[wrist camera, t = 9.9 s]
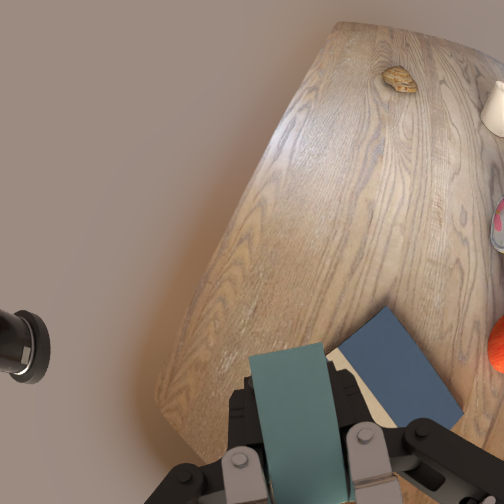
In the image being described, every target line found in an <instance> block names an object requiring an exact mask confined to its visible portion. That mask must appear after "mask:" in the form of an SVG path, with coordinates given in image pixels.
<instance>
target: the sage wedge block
mask: <svg viewBox="0 0 504 504" xmlns="http://www.w3.org/2000/svg"><path fill="white" fill-rule="evenodd" d="M249 363H250V369H251V374H252V375H251V376H250V377H249V380H248V383H249V386H250V387H251V388H252V389H254V392H255V398H256V403H257V409H258V414H259V420H260V425H261V431H262V436H263V442H264V447H265V452H266V458H267V463H268V468H269V473H270V478H271V484H272V489H273V494H274V499H275V504H339V503H343V502H347V501H348V500H349V497H348V489H347V481H346V474H345V467H344V460H343V453H342V447H341V440H340V434H339V428H338V422H337V416H336V411H335V405H334V400H333V394H332V389H331V384H330V379H329V373H328V368H327V363H326V358H325V354H324V349H323V344H322V342H319V343H315V344H310V345H306V346H301V347H296V348H292V349H287V350H282V351H276V352H271V353H266V354H260V355H254V356H250V357H249Z"/></svg>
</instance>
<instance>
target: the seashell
mask: <svg viewBox="0 0 504 504" xmlns="http://www.w3.org/2000/svg"><path fill="white" fill-rule="evenodd" d="M382 77H384V80H385V82H386V83H389V84H391V85H392V86H393V87H395V90H396V91H400V92H416V91H417V90H418V88H417V84H416V82H415V81H414V79H413V78H412V76H411V75H410V74H409V73H408V71H407V70H405V69H404V68H403V67H402V66H395V67H391V68H388V69H386V70H385V71H384V72H383V73H382Z"/></svg>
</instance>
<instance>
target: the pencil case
mask: <svg viewBox="0 0 504 504" xmlns="http://www.w3.org/2000/svg"><path fill="white" fill-rule="evenodd" d="M490 241H491V243H492V245H493V246H494V247H495V249H496V250H497V251H499V252H501V253H503V254H504V196H503V197H502V198H501V199H500V200H499V202H498V203H497V205H496V207H495V210H494V214H493V217H492V222H491V235H490Z"/></svg>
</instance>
